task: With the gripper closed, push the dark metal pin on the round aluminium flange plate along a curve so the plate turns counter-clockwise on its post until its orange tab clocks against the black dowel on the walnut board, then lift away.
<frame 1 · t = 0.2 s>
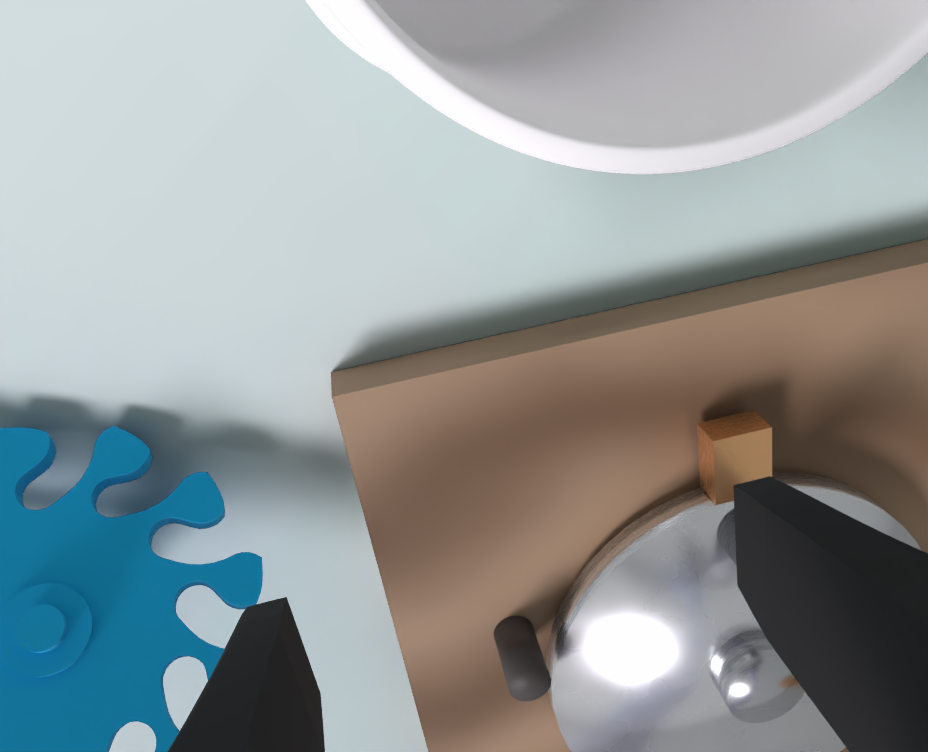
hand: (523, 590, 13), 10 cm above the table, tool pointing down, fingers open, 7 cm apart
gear: (70, 529, 23), on the table
base board: (707, 600, 27), on the table
flange: (778, 683, 22), point 5 cm above the table, hinge at 0.0°
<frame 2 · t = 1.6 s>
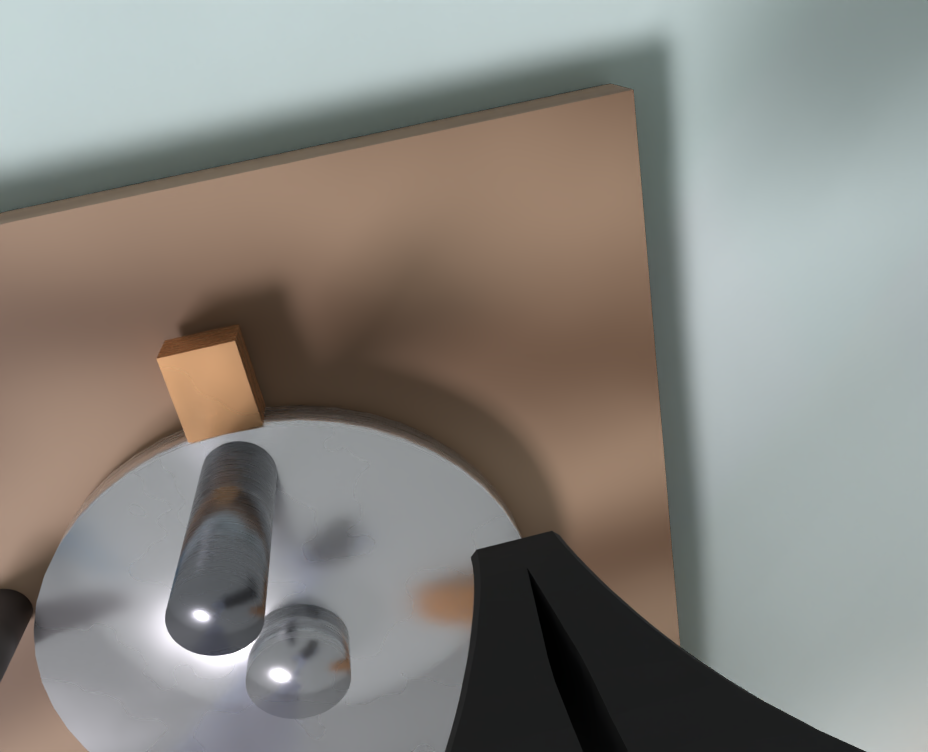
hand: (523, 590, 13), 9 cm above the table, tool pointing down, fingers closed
base board: (301, 572, 22), on the table
flange: (286, 669, 18), point 5 cm above the table, hinge at 0.0°
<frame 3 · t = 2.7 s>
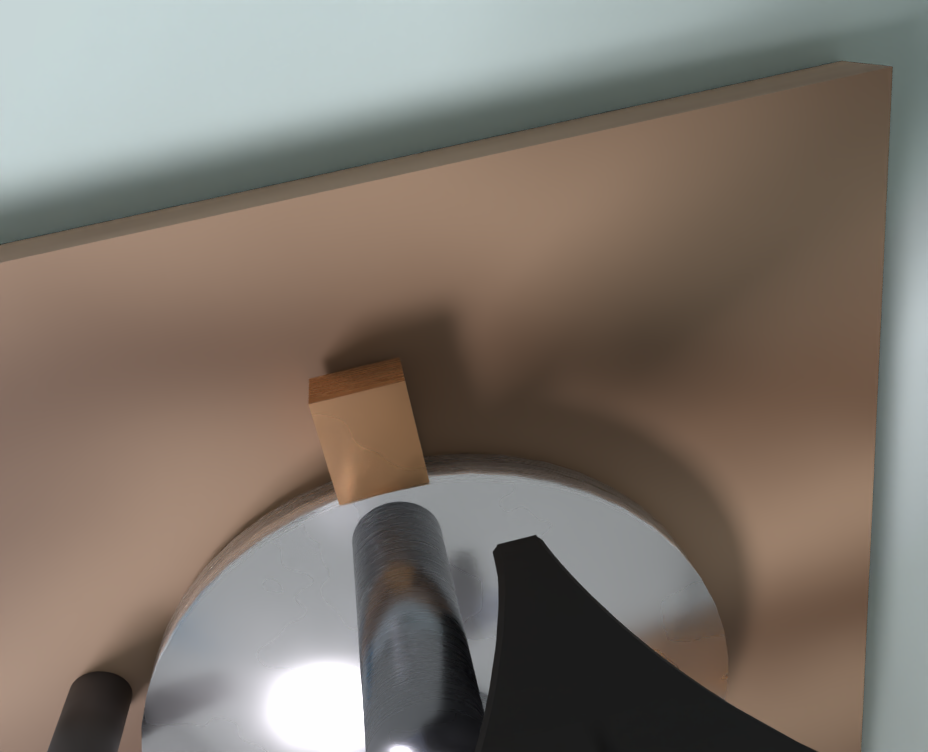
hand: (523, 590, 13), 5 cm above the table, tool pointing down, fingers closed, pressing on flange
base board: (433, 638, 19), on the table
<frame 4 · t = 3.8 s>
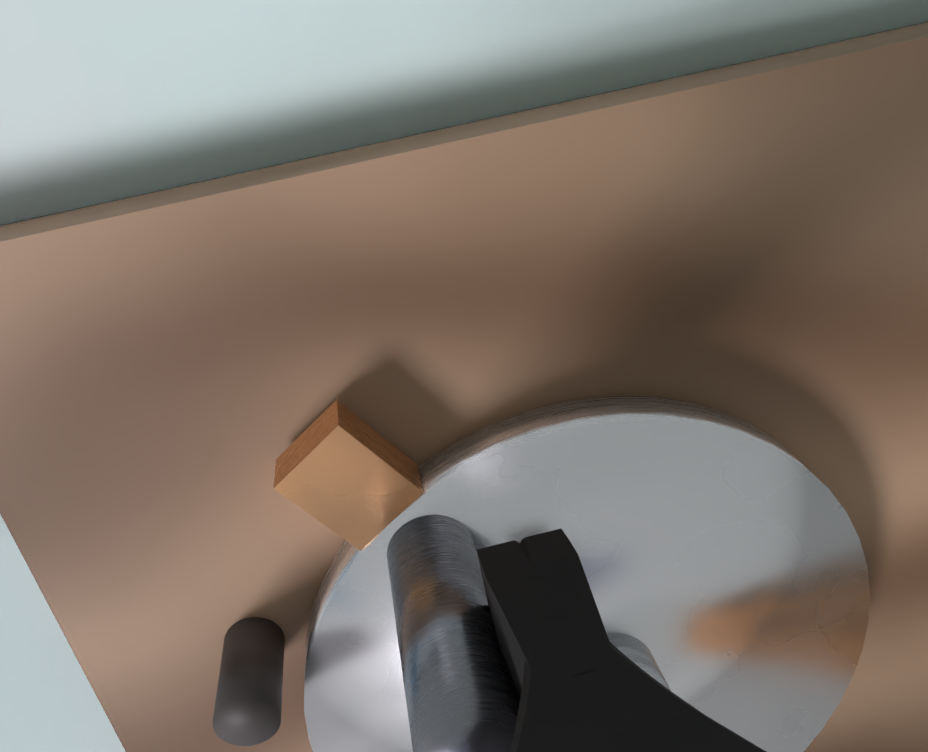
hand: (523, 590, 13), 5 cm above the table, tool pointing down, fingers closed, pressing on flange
base board: (562, 591, 19), on the table
flange: (597, 728, 15), point 5 cm above the table, hinge at 33.1°, touching gripper
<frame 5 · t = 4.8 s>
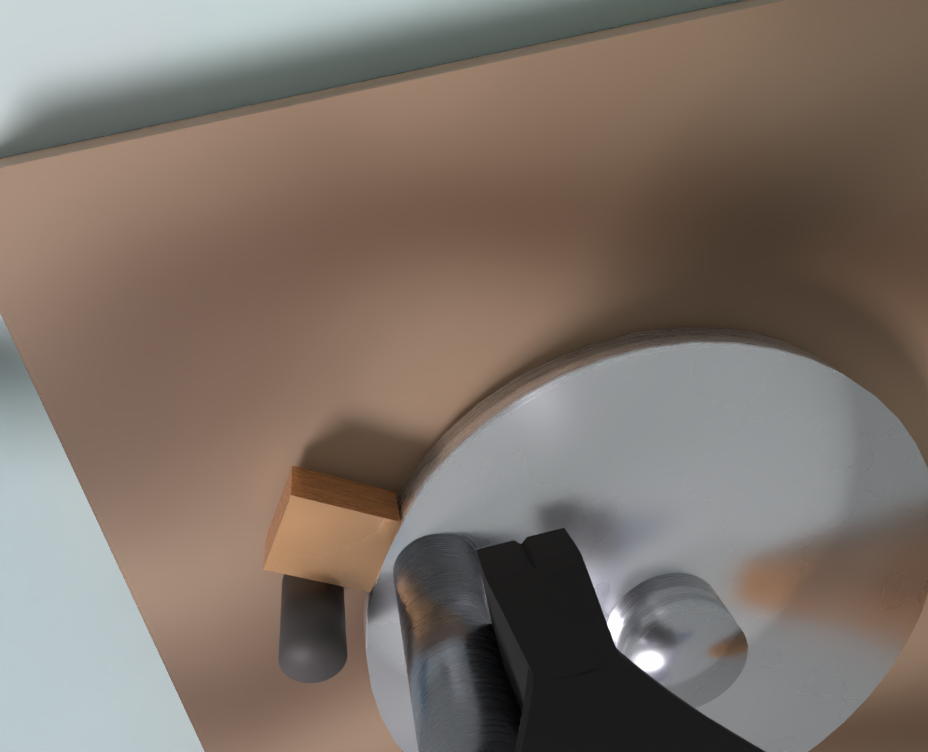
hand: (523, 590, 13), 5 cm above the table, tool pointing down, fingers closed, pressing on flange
base board: (617, 540, 19), on the table
flange: (656, 680, 15), point 5 cm above the table, hinge at 57.2°, touching gripper
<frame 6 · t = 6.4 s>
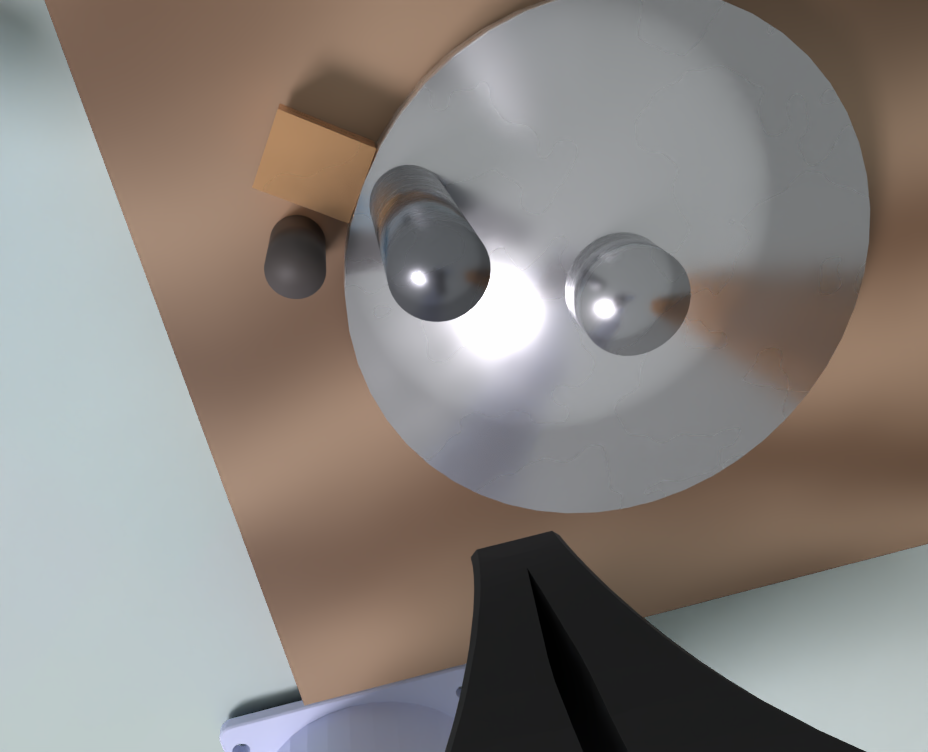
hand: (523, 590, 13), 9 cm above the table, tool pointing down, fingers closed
base board: (580, 251, 21), on the table
flange: (604, 297, 16), point 5 cm above the table, hinge at 56.6°
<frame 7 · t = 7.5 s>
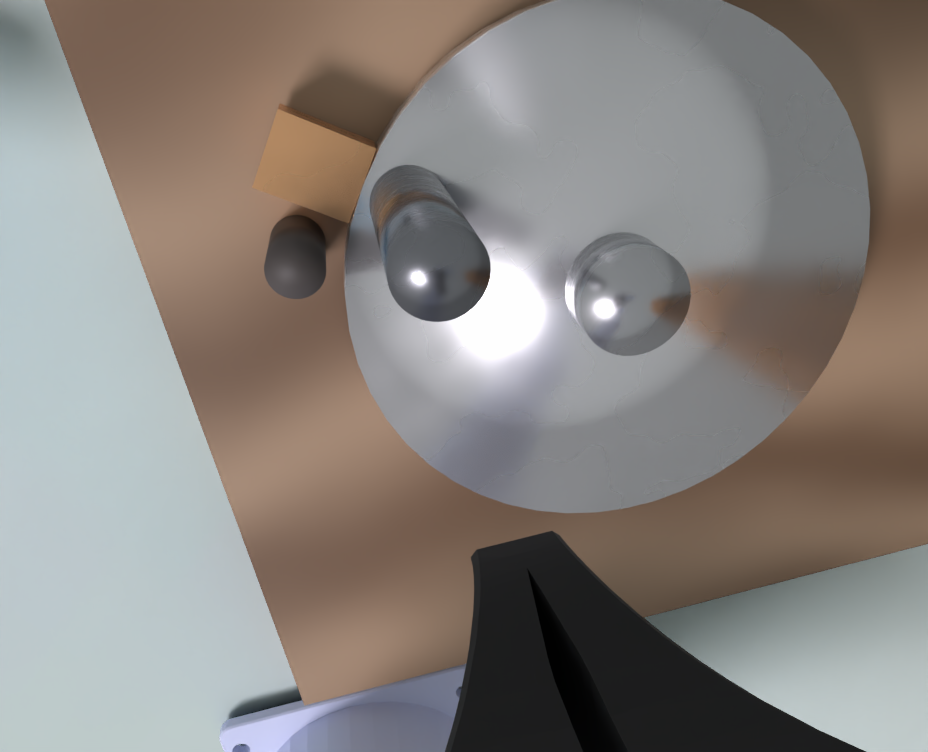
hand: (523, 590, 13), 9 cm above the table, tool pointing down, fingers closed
base board: (580, 251, 21), on the table
flange: (604, 297, 16), point 5 cm above the table, hinge at 56.6°
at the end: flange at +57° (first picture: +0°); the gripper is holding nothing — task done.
